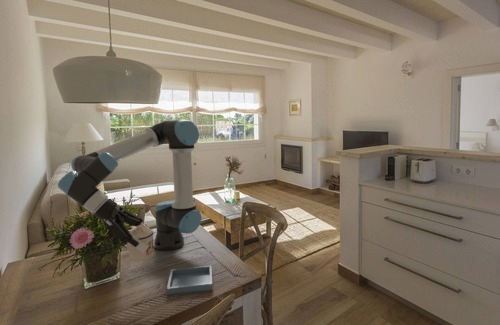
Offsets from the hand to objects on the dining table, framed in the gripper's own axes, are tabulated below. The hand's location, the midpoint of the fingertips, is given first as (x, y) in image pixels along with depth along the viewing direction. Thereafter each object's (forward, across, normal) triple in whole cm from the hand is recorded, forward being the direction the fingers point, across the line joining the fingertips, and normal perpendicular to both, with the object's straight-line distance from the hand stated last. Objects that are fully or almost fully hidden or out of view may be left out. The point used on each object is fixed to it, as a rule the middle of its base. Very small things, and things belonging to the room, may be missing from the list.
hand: (149, 242), depth 104 cm
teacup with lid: (+1, 0, -5) cm, 5 cm away
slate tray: (+24, -2, -4) cm, 24 cm away
